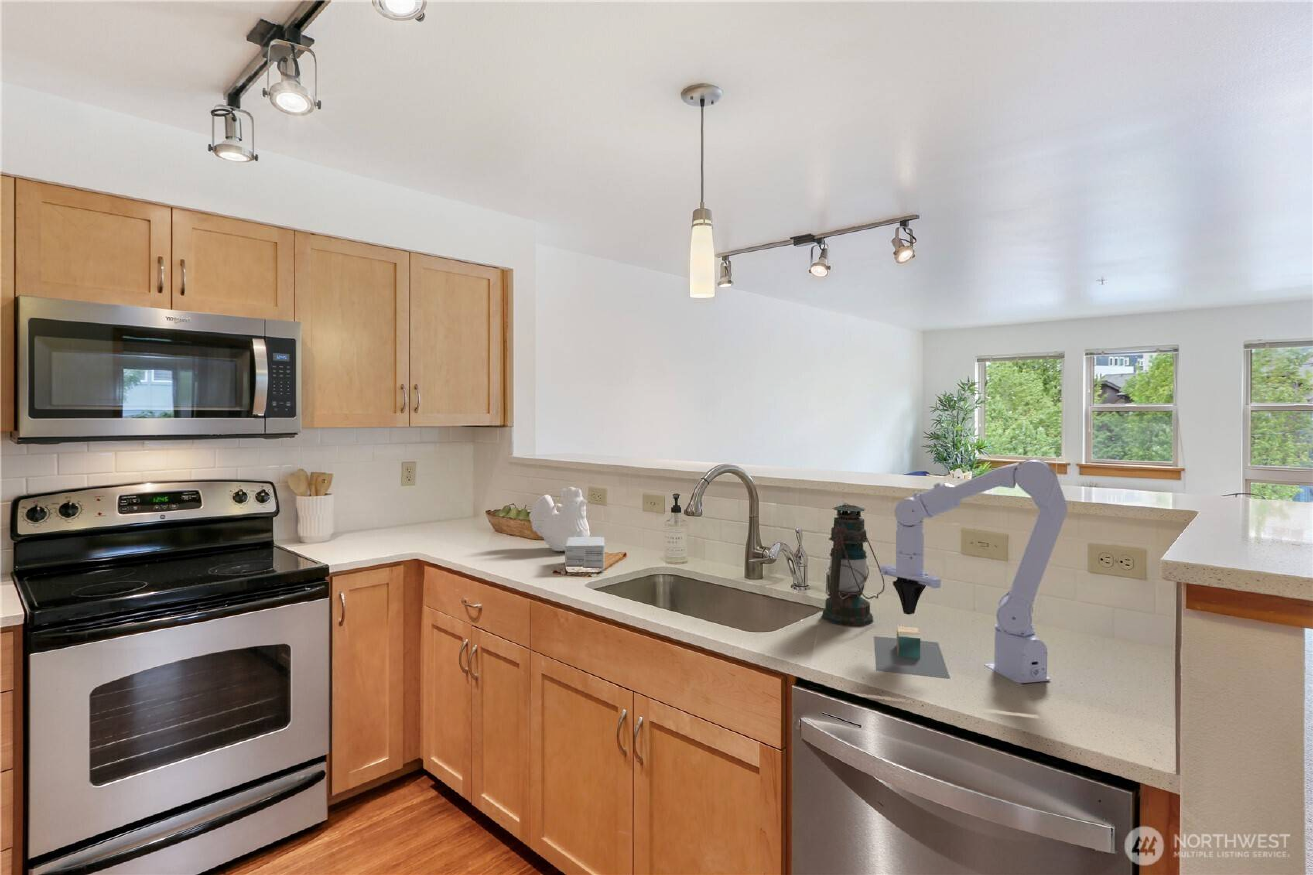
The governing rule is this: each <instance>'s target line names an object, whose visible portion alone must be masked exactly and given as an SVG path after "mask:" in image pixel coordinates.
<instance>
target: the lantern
mask: <svg viewBox="0 0 1313 875" xmlns="http://www.w3.org/2000/svg"><path fill="white" fill-rule="evenodd" d="M832 510H835V511H836V517H833V527H831V531H830V532H831V533H830V537H829V538H828V540H829V541H831V542H832V548H831V549H830V553H829V556H830V562H829V567H828V572H829V573H828V575H829V577H828V578H829V592H828V594H827V596H828V597H827V598H825V604H824V605H825V607H824V609H823V610H822V615H821V617H822V619H823V620H824V621H827V622H829V623H832V624H836V625H839V626H845V627H862V626H867V625H870V624H872V623H873V622H874V619H873V618H874V616H873V614H872V613H871V602H870V601H868V600H871V599H874V598H875V599H876V600H877V599H879V595H881V594H882V593H883V592H884V591H885V588H886V585H885V579H884V575H881V566H880V565H879V562H878V559H877V557H876V555H875V552H874V550H873V548H872V545H871V543H870V541H869V538H868V537H867V536H868V535H867V530H866V529H865V519H864V518H862V515H861V512H865V510H866V508H863V507H859V506H857V505H853V504H852V505H851V504H849V503H847V502H844V504H843V505H837V506H834V507H832ZM865 543H868V546H869V549H870V550H871V553H872V555H873V557H874V560H875V562H876V566H877V568H878V570H879V573H880V576H881V578H882V584H883V585H882V590H881V591H880V592H878V593H877V594H876V595H873V596H869V597H868V596H866V595H865V594H864V593H863V592H864V589H865V583H867V580H868V579H869V578H868V577H869V574H870V571H869V570H870V568H869V566H868V564H867V558H868V556H867V551H866V550H865V549H864V544H865ZM862 596H863V597H864V598H863V597H862Z"/></svg>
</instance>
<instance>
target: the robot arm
mask: <svg viewBox="0 0 1313 875" xmlns="http://www.w3.org/2000/svg"><path fill="white" fill-rule="evenodd" d="M1016 486H1018V487H1019V488H1020V489H1021V490H1022V491H1023V492H1024V493H1026V494H1027V495H1028V496H1029V497H1031V499H1032V501H1033V502H1034V504H1035V506H1036V507H1037V508H1038V510H1039V511H1038V515H1037V517H1036V519H1035V523H1034V525H1033V527H1032V531H1031V533H1030V535H1029V538H1028V541H1027V544H1026V545H1025V548H1024V552H1023V554H1022V557H1021V560H1020V562H1019V566H1018V567H1017V570H1016V573H1015V574H1014V578H1013V579H1012V580H1013V581H1012V583H1011V586H1010V588H1009V590H1008V591H1007V593H1005V594H1004V595H1003V596H1002V597H1000V599H999V601H998V602H999V603H998V609H997V611H996V617H995V618H996V621H997V622H996V623H995V624H994V652H993V653H994V654H993V655H994V657H993V658H994V659H993V660H994V661H993V663H985V664H984V665H983V666H985V667H986V668H988V669H991V670H993V671H994V672H996V673H998V674H999V675H1002V676H1004V677H1006V678H1008V679H1010V680H1011V681H1013V682H1016V683H1020V684H1026V683H1027V684H1029V683H1037V682H1040V683H1041V682H1047V681H1051V678H1050V677H1049V676H1048V648H1047V645H1046V643H1045V642H1044V641H1042V640H1041V639H1039V638H1038V636H1037V635H1036V633H1035V632H1036V629H1035V627H1033V625H1032V623H1033V617H1032V616H1033V612H1034V606H1033V605H1034V602H1035V598H1036V596H1037V592H1038V588H1039V587H1040V584H1041V581H1042V579H1043V576H1044V573H1045V570H1046V568H1047V566H1048V563H1049V561H1050V558H1051V555H1052V552H1053V551H1054V547H1055V545H1056V542H1057V540H1058V537H1059V534H1060V532H1061V529H1062V527H1063V523H1064V521H1065V519H1066V516H1067V514H1068V509H1069V508H1068V503H1067V500H1066V497H1065V495H1064V491H1063V488H1062V486H1061V484H1060V481H1059V478H1058V475H1057V473H1056V472H1055V471H1054V470H1053V469H1052V468H1051V466H1050V465H1049V464H1048V463H1047V462H1045V461H1044V460H1042V459H1039V458H1028V459H1026V460H1023V461H1022V462H1021V463H1020V462H1015V463H1010V464H1006V465H1003V466H1000V467H996V468H994V469H992V470H990V471H987V472H985V473H983V474H980V475H978V476H976V477H975V476H974V477H973V478H971V479H969V480H966V481H964V482H962V483H961V482H960V483H959V484H956V485H953V484H952V483H951V484H950V483H947V482H945V483H942V484H941V482H937V483H934V484H933V487H932V488H930V489H927V490H924V491H922V492H918V491H916V492H914V493H912V496H910V497H906V498H904V499H902V500H901V501H899V502H898V503H896V505H895V507H894V517H895V519H896V532H895V540H896V541H895V566H892V565H887V564H885V565H881V566H880V569H881V573H880V576H881V575H882V576H889V577H893V578H895V579H896V580H893V581H892V585H893V587H894V589H895V591H896V593H897V595H898V597H899V600H900V605H901V608H902V612H903V614H905V615H907V616H909V615H914V614H915V612H916V609H917V605H918V602H919V600H920V597H921V595H922V594H923V592H924V590H925V588H927V587H930V588H931V589H934V590H935V589H939V588H941V586H942V584H941V583H942V582H941V580H942V579H941V578H940V577H937V576H933V575H931V574H929V573H927V572H926V570H924V561H925V560H924V558H925V554H924V553H925V552H924V551H925V550H924V549H925V548H924V547H925V546H924V545H925V543H924V542H925V533H924V519H925V518H928V519H931V518H934V517H936V516H939V515H941V514H945V513H947V512H950V511H952V510H955V509H957V508H959V506H960V504H961V502H962V500H963V499H967V498H971V497H972V496H976V495H977V494H981V493H984V492H986V491H989V490H992V489H995V488H998V487H1002V488H1008V489H1015V488H1016Z"/></svg>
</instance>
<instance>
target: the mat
mask: <svg viewBox="0 0 1313 875" xmlns="http://www.w3.org/2000/svg"><path fill="white" fill-rule="evenodd" d="M873 639H874V656H875V658H874V659H875V671H876V672H884V673H885V672H888V673H894V674H895V673H897V674H904V675H913V676H922V677H930V678H940V679H947V680H948V679H951V678H950V674H949V671H948V668H947V666H946V662H945V660H944V657H943V656H944V655H943V654H942V650H941V647H940V644H939V642H937V641H930V640H929V641H927V640H926V641H925V640H920V659H918V658H909V657H899V656H898V651H897V637H896V638H895V637H885V636H878V635H877V636H876V635H875V636H873Z"/></svg>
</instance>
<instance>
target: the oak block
mask: <svg viewBox="0 0 1313 875" xmlns="http://www.w3.org/2000/svg"><path fill="white" fill-rule="evenodd" d="M896 638H897V651H898V656H899V657H909V658H918V659H920V641H921V635H920V632H919V628H918V627H913V626H900V625H897V626H896Z"/></svg>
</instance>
